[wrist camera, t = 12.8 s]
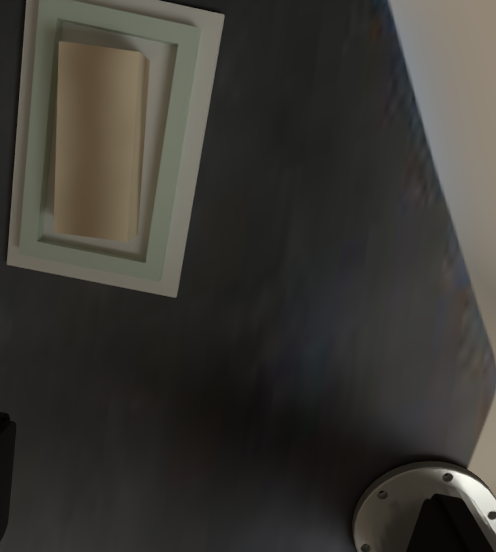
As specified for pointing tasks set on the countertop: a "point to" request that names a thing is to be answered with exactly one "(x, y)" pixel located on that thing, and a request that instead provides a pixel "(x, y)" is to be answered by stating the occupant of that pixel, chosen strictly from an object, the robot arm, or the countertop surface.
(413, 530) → the robot arm
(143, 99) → the birch tile
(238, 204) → the countertop surface
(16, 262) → the white flat rectangular tray
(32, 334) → the countertop surface
